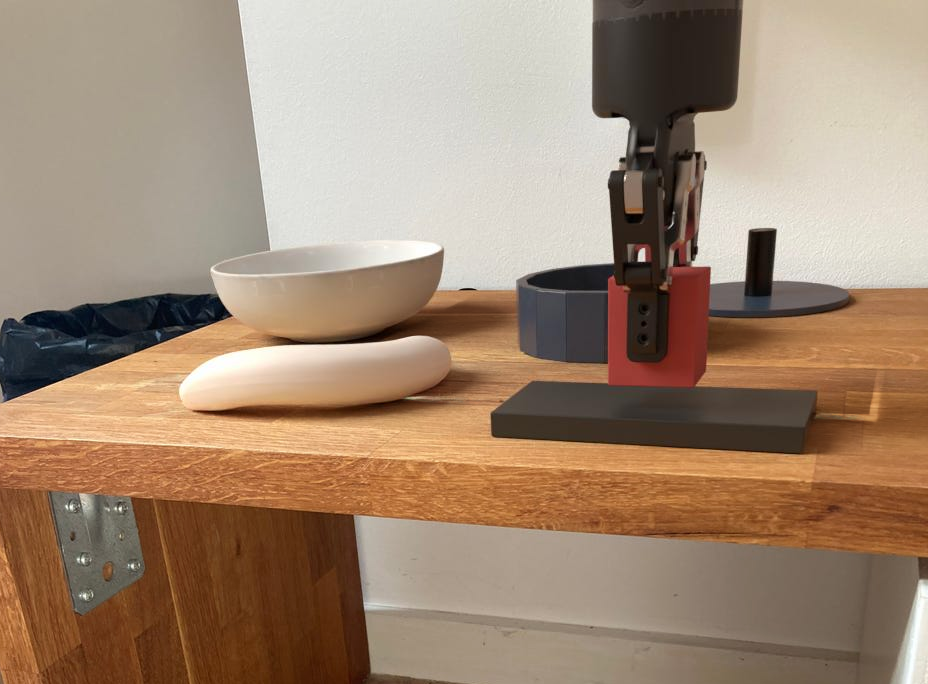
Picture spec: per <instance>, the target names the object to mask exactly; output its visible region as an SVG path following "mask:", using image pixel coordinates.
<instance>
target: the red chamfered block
mask: <svg viewBox="0 0 928 684" xmlns="http://www.w3.org/2000/svg"><path fill="white" fill-rule="evenodd" d="M711 275H712V267H711V266H710V265H709V266H693V267H673V271H672V276H673V285H672V286H671V289H670V301H669V328H668V352H667V356H666V357H665V358H664V359H663V360H662V361H661V362H658V363H644V362H632V361H630V360H629V359H628V358H627V354H626V348H627V297H628V294H629V293H624V290H623V286H617V285H616V282H615V279H614V276H612V277H611V278H609V279H608V364H607V383H608V385H609V386H643V387H680V388H694V387H695V386H697V384H698V383H699V382H700V380H701V378H702V377H703V376H704V375H705V373H707V359H708V340H709V339H708V338H709V337H708V336H709V319H710V316H709V298H710V284H711V278H712V277H711Z"/></svg>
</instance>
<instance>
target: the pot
mask: <svg viewBox="0 0 928 684" xmlns="http://www.w3.org/2000/svg"><path fill="white" fill-rule="evenodd" d="M692 267H694V265H692ZM612 276H614V262H609V263H608V262H607V263H594V264H593V263H592V264H579V265H571V266H565V267H556V268H550V269H544V270H540V271H535V272H531V273H528V274H526V275H523V276H522V277H520V278H518V279H516V280H515V288H516V289H515V293H516V323H517V324H516V325H517V326H516V327H517V344H518V348H519V351H520V352H522V353H523V354H524V355H527V356H528V357H531V358H535V359H539V360H545V361H548V362H549V361H550V362H557V363H568V364H569V363H570V364H585V365H586V364H589V365H590V364H591V365H595V364H597V365H601V364H602V365H603V364H604V365H606V364H607V365H608V279H609V278H611V277H612Z"/></svg>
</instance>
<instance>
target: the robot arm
mask: <svg viewBox="0 0 928 684" xmlns="http://www.w3.org/2000/svg"><path fill="white" fill-rule="evenodd" d="M743 9H744V0H592V23H591V32H592V33H591V108H592V112H593V114H594V115H595V117H598V118H600V119H620V118H621V119H626V120H627V121H628V125H629V129H628V131H627V140H626V141H627V142H626V150H625V156H620V157H619V159H618V162H617V163H618V164H617V170H613V169H612V170H611V171H610V173H609V178H608V179H607V189H608V195H609V211H610V225H611V238H612V240H611V241H612V254H613V255H612V256H613V263H614V279H615V282H616V285H617V286H623V290H624V293H629V294H628V297H627V348H626V354H627V358H628V359H629V360H630V361H632V362H644V363H658V362H661V361H662V360H663V359H664V358H665V357H666V356H667V352H668V328H669V301H670V289H671V286H672V285H673V276H672V271H673V267H692V266H693V262H696V258H697V256H698V254H699V245H698V242H699V241H698V240H699V232H700V221H701V212H702V200H703V191H704V183H705V171H707V167H708V162H707V160H706V155H705V151H703V150H697V151H696V125H695V122H694V119H695V117H696V115H698V114H704V113H714V112H724V111H728V110H730V109H732V108H733V107H734V106H735V104H736V103H737V101H738V92H739V78H740V63H741V62H740V60H741V43H742V30H743V29H742V28H743V14H744V13H743V11H744V10H743ZM642 249H644V259H645V260H644V261H639V252H640V251H641V250H642Z"/></svg>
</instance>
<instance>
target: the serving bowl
mask: <svg viewBox="0 0 928 684" xmlns="http://www.w3.org/2000/svg"><path fill="white" fill-rule="evenodd" d="M444 257H445V248H444V246H442V244H439V243H436V242H432V241H424V240H411V239H410V240H409V239H374V240H373V239H372V240H358V241H357V240H356V241H344V242H342V241H341V242H331V243H329V242H328V243H320V244H309V245H300V246H293V247H285V248H279V249H273V250H266V251H260V252H256V253H250V254H246V255H241V256H238V257H237V256H236V257H233V258H229V259H226V260H223V261H220V262H218V263H216V264H214V265H213V266H212V267H211V268H210V269H209V270H210V275H211V278H212V282H213V284H214V287H215V290H216V292H217V293H216V294H217V295H218V297H219V299H220V301H221V303H222V305H223V306H224V307H225V309H226V310H227V311H228V312H229V314H231V316H232V317H234V318H235V319H236V320H237V321H238V322H240V323H241V324H243V325H244V326H245V327H247V328H248V329H251V330H253V331H255V332H259V333H262V334H265V335H270V336H273V337H280V338H287V339H289V340H292V341H294V342H298V343H299V342H300V343H312V344H313V343H314V344H317V343H318V344H319V343H320V344H321V343H335V342H344V341H345V342H346V341H350V340H351V341H352V340H358V339H362V338H368V337H371V336H374V335H377V334H380V333H381V332H383V331H384V330H385V329H388V328H390V327H394V326H396V325H398V324H400V323H402V322H405V321H406V320H409V319H410V318H412V317H414V316H415V315H417V314H419V312H421V311H422V310H423V309H424V308H425V307H426V306H427V305H428V304H429V302H431V300H432V298H433V297H434V295H435V293H436V292H437V289H438V288H439V285H440V281H441V279H442V274H443V269H444V259H445V258H444Z"/></svg>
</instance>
